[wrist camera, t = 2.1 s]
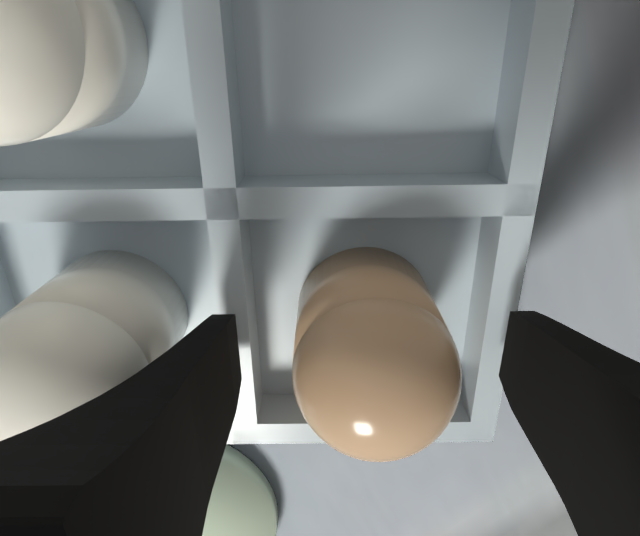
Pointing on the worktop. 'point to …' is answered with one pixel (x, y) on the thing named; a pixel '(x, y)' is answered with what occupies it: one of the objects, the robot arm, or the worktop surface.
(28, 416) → the egg white back
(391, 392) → the egg brown
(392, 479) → the worktop surface
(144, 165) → the carton
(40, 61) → the egg white front
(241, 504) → the saucer
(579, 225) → the worktop surface
